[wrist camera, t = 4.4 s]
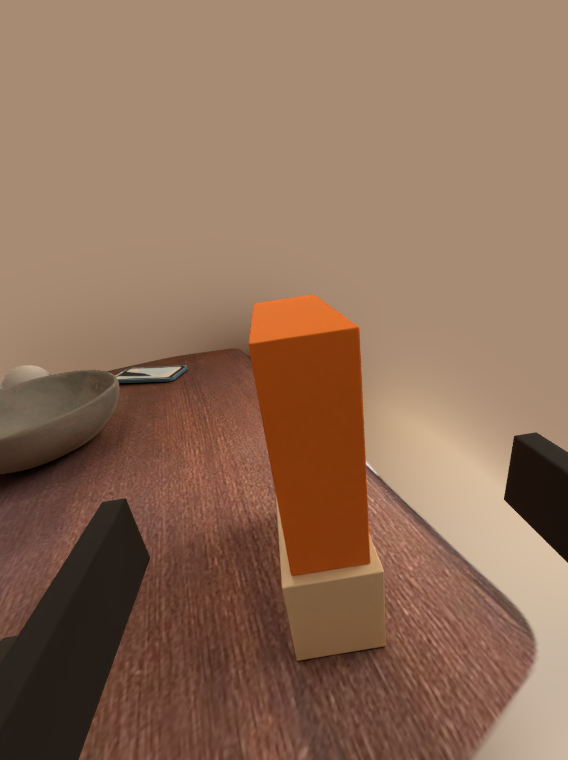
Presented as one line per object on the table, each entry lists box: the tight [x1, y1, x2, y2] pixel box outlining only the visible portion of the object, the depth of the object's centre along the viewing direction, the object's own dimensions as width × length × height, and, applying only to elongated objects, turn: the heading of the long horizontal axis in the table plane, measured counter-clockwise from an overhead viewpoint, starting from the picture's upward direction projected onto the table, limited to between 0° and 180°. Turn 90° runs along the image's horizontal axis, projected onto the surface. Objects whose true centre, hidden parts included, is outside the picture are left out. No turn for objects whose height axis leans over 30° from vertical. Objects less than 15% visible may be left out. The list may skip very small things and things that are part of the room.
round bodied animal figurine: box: [0, 365, 51, 389], centre depth 56 cm, size 7×12×8 cm, turn 124°
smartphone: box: [115, 365, 187, 383], centre depth 67 cm, size 7×1×15 cm
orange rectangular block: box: [249, 294, 370, 576], centre depth 18 cm, size 10×4×12 cm, turn 4°
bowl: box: [0, 370, 120, 474], centre depth 42 cm, size 21×21×8 cm
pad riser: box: [276, 497, 386, 661], centre depth 21 cm, size 11×5×6 cm, turn 4°
